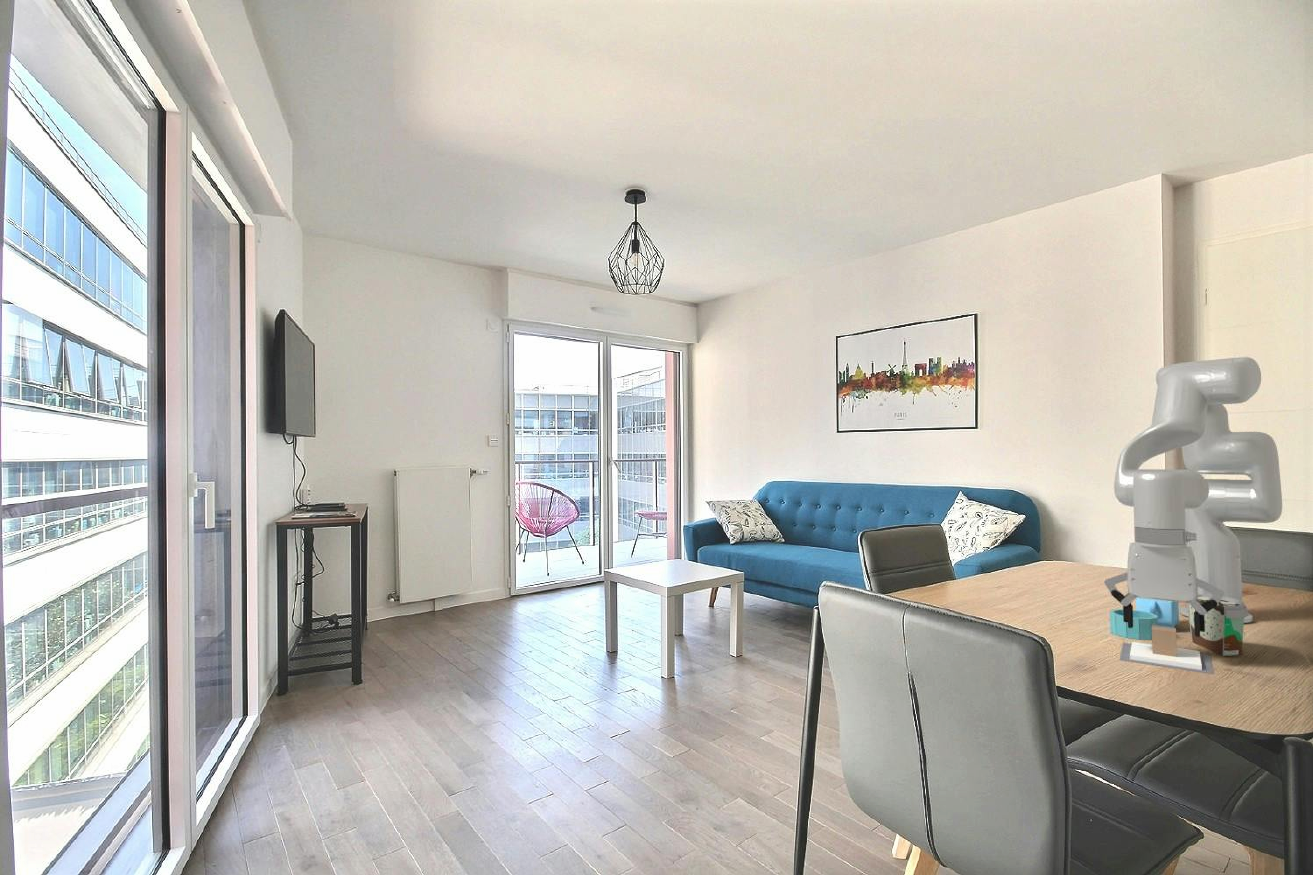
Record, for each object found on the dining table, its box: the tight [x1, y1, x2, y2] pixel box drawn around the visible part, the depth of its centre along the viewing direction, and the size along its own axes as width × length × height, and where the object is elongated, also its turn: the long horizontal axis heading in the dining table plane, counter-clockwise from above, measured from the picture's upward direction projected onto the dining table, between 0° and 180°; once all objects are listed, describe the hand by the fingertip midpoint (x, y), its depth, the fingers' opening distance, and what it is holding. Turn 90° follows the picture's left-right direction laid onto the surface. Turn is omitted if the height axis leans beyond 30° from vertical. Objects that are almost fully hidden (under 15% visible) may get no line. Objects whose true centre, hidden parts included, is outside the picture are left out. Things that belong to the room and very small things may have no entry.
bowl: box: [1109, 608, 1158, 641], centre depth 132 cm, size 8×8×5 cm
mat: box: [1119, 642, 1215, 675], centre depth 117 cm, size 13×13×1 cm
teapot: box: [1135, 597, 1180, 628], centre depth 140 cm, size 12×6×8 cm, turn 131°
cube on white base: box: [1130, 625, 1202, 670], centre depth 117 cm, size 10×10×5 cm
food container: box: [1184, 594, 1250, 658], centre depth 121 cm, size 12×6×10 cm, turn 168°
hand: (1163, 630), depth 117 cm, fingers open, 9 cm apart
